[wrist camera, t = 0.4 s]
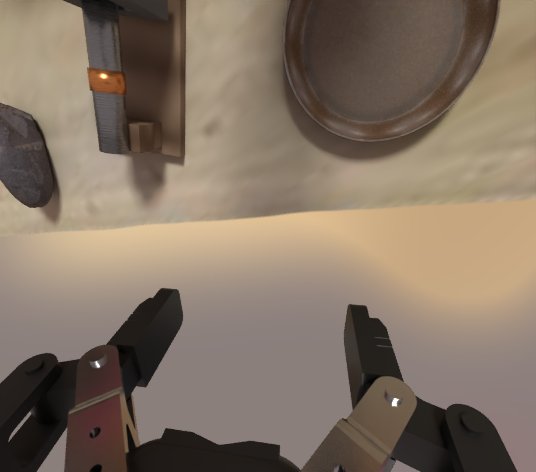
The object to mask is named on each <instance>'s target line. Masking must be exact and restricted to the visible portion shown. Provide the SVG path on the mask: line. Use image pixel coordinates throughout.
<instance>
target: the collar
mask: <svg viewBox="0 0 536 472" xmlns="http://www.w3.org/2000/svg"><path fill="white" fill-rule="evenodd" d="M64 1H66V2H68V3H71V4H73V5H76V6H78V7H81V8H82V3H81V0H64ZM110 1H112V2H114V3H116V4H118V12H119V15H123V16H130V17H137V18H145V19H152V20H159V21H167V22H168V0H110Z"/></svg>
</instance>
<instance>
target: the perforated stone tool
mask: <svg viewBox="0 0 536 472" xmlns="http://www.w3.org/2000/svg"><path fill="white" fill-rule="evenodd" d="M0 180H1V181H2V183H3V184H4V185H5V187H6V188H7V189H8V190H9V192H10V193H11V194H12V195H13V196H14V197H15V198H16V199H17V200H19V201H20V202H21V203H23V204H24V205H26V206H28V207H30V208H36V207H43V206H45V205H46V204H47V203H48V202H49V200H50V198H51V196H52V191H53V177H52V172H51V168H50V166H49V160H48V157H47V153H46V149H45V146H44V142H43V139H42V138H41V134H40V132H38V130H37V128H36V125H35V123H34V121H33V117H32V115H31V114H28V113H26V112H24V111H22V110H18V109H16V108H14V107H11V106H9V105H5V104H2V103H0Z"/></svg>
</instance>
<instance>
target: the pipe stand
mask: <svg viewBox="0 0 536 472" xmlns="http://www.w3.org/2000/svg"><path fill="white" fill-rule="evenodd" d="M119 25H120V38H121V51H122V64H123V73H125V75H126V88H127V95H125V102H126V115H127V128H128V141H129V151H132V152H138V153H142V152H145V151H148V152H154V153H160V154H166V155H172V156H177V157H182V156H184V155H185V45H186V0H168V22H167V21H159V20H152V19H145V18H137V17H130V16H123V15H119Z"/></svg>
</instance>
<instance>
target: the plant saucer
mask: <svg viewBox="0 0 536 472" xmlns="http://www.w3.org/2000/svg"><path fill="white" fill-rule="evenodd" d="M500 3H501V0H288V3H287V7H286V12H285V18H284V25H283V57H284V63H285V68H286V73H287V76H288V80H289V83H290V85H291V88H292V90H293V92H294V94H295V96H296V98H297V100H298V101H299V103H300V104H301V106H302V107H303V109H304V110H305V111H306V112H307V113H308V115H309V116H310V117H311V118H312V119H313V120H314V121H316V122H317V123H318V124H319V125H321V126H322V127H323V128H325V129H326V130H328V131H330V132H332V133H334V134H336V135H338V136H341V137H344V138H347V139H351V140H356V141H363V142H376V141H385V140H390V139H394V138H398V137H401V136H404V135H407V134H410V133H412V132H414V131H416V130H418V129H420V128H422V127H424V126H426V125H427V124H429V123H430V122H432V121H433V120H435V119H436V118H438V117H439V116H440V115H441V114H443V113H444V112H445V111H446V110H447V109H448V108H449V107H451V106H452V105H453V104H454V103H455V102H456V101H457V100H458V98H459V97H460V96H461V95H462V94H463V93H464V91H465V90H466V89H467V88H468V86H469V85H470V84H471V82H472V81H473V79H474V78H475V76H476V75H477V73H478V71H479V70H480V68H481V66H482V64H483V62H484V60H485V58H486V56H487V53H488V51H489V49H490V46H491V44H492V41H493V38H494V34H495V31H496V27H497V23H498V18H499V13H500Z"/></svg>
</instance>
